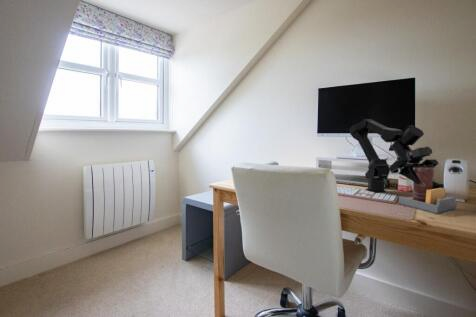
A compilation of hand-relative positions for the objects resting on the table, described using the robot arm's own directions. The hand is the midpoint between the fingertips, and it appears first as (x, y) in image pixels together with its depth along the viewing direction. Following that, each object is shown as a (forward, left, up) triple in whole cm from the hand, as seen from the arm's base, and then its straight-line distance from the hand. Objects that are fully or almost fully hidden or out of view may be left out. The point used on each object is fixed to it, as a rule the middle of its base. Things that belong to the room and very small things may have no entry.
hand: (425, 183), depth 100 cm
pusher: (+4, 0, -9) cm, 10 cm away
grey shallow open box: (+1, 0, -9) cm, 9 cm away
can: (-1, +2, -8) cm, 8 cm away
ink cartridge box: (-20, +22, -10) cm, 32 cm away
